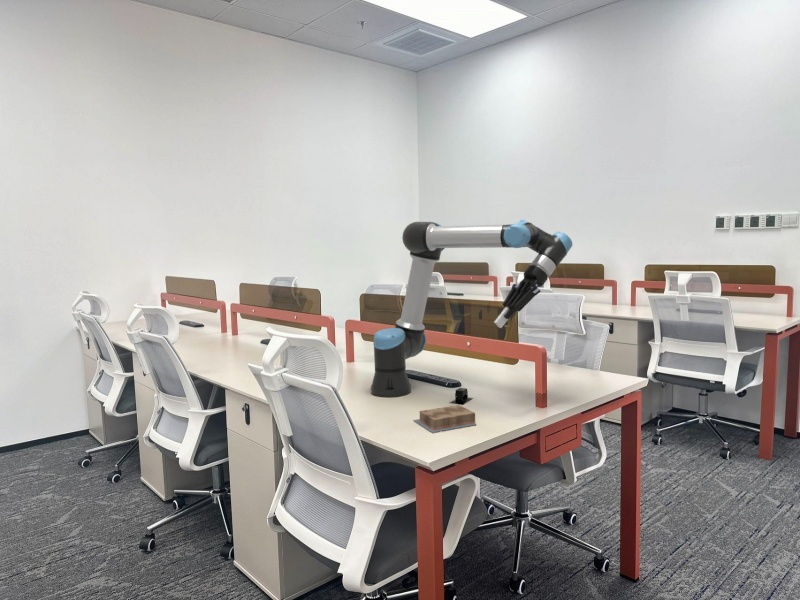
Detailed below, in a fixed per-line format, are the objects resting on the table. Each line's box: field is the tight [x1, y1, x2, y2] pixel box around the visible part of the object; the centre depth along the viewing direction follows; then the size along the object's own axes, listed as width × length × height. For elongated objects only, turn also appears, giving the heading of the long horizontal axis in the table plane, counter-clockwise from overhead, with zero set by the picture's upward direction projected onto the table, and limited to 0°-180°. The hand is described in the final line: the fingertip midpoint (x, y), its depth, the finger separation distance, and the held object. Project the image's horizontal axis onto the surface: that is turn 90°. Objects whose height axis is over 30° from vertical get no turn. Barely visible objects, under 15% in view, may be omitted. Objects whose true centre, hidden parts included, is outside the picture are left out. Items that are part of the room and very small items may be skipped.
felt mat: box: [412, 418, 477, 434], centre depth 171 cm, size 13×15×1 cm
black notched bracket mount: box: [448, 387, 475, 406], centre depth 195 cm, size 12×7×5 cm, turn 148°
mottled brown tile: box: [419, 404, 476, 430], centre depth 172 cm, size 10×3×14 cm
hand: (497, 325), depth 181 cm, fingers closed
